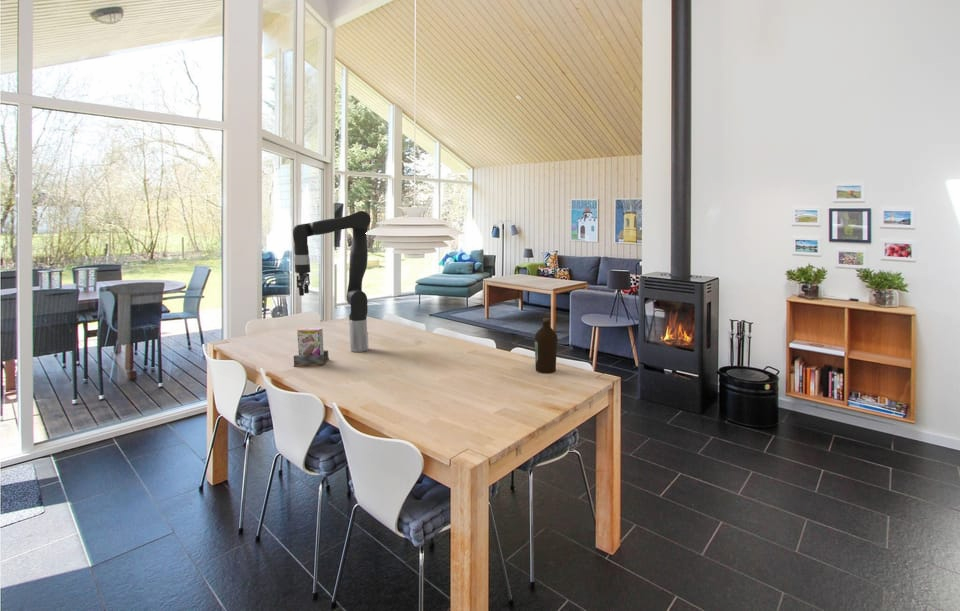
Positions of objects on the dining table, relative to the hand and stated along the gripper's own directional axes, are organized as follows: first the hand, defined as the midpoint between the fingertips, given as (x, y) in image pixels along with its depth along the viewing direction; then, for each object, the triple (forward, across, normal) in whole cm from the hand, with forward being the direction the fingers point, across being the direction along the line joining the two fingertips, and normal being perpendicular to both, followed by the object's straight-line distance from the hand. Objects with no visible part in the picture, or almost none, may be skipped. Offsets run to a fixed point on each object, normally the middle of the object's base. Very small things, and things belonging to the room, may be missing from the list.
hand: (304, 294), depth 262 cm
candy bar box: (+31, -18, -7) cm, 37 cm away
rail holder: (+32, -18, -7) cm, 37 cm away
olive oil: (+32, -38, -121) cm, 131 cm away
